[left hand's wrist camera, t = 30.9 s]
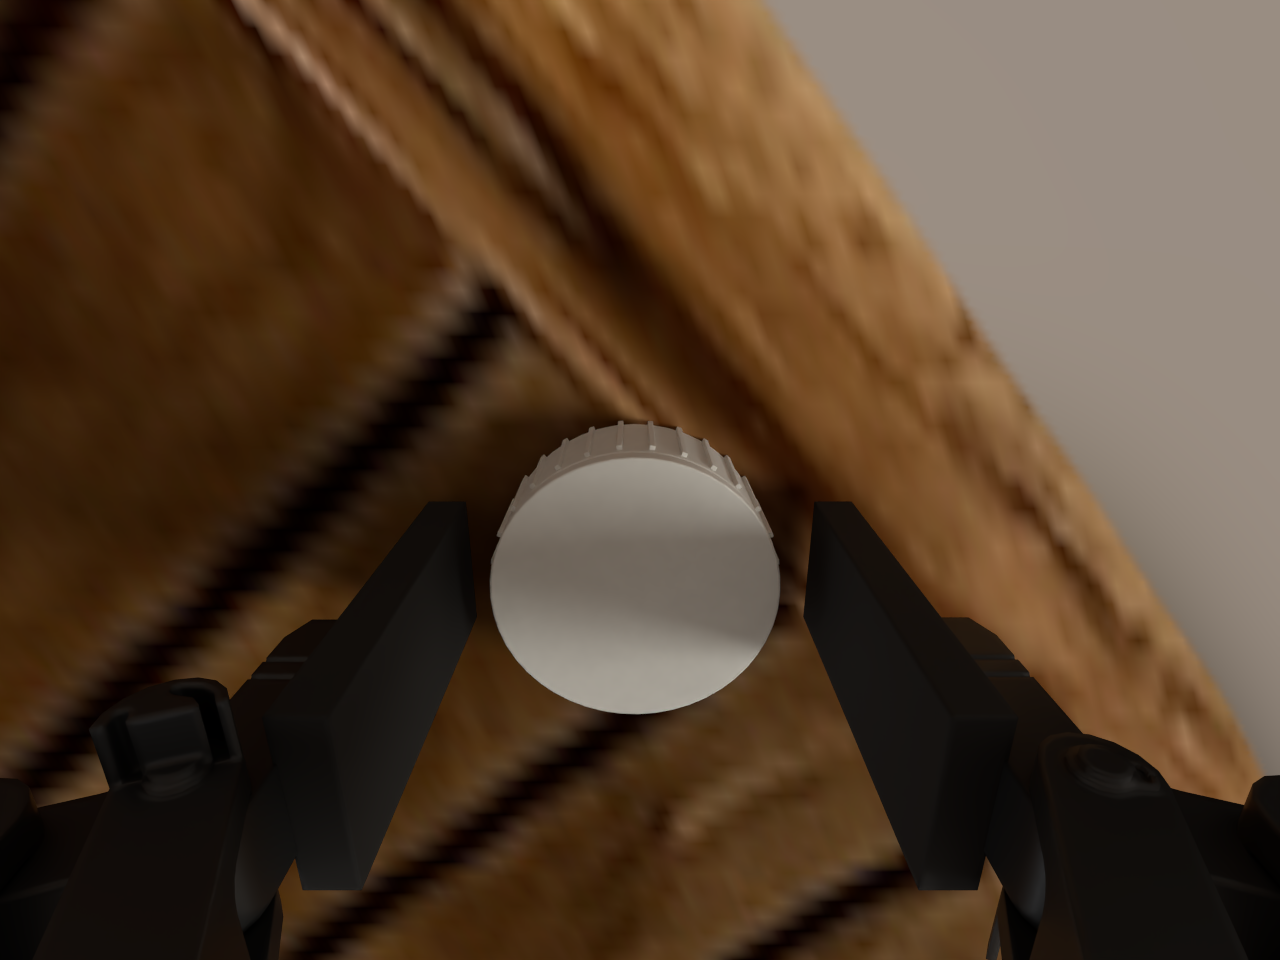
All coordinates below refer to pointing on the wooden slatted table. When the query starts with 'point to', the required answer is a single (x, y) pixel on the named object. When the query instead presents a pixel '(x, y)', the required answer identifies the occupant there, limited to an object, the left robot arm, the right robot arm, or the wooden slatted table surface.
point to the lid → (634, 571)
